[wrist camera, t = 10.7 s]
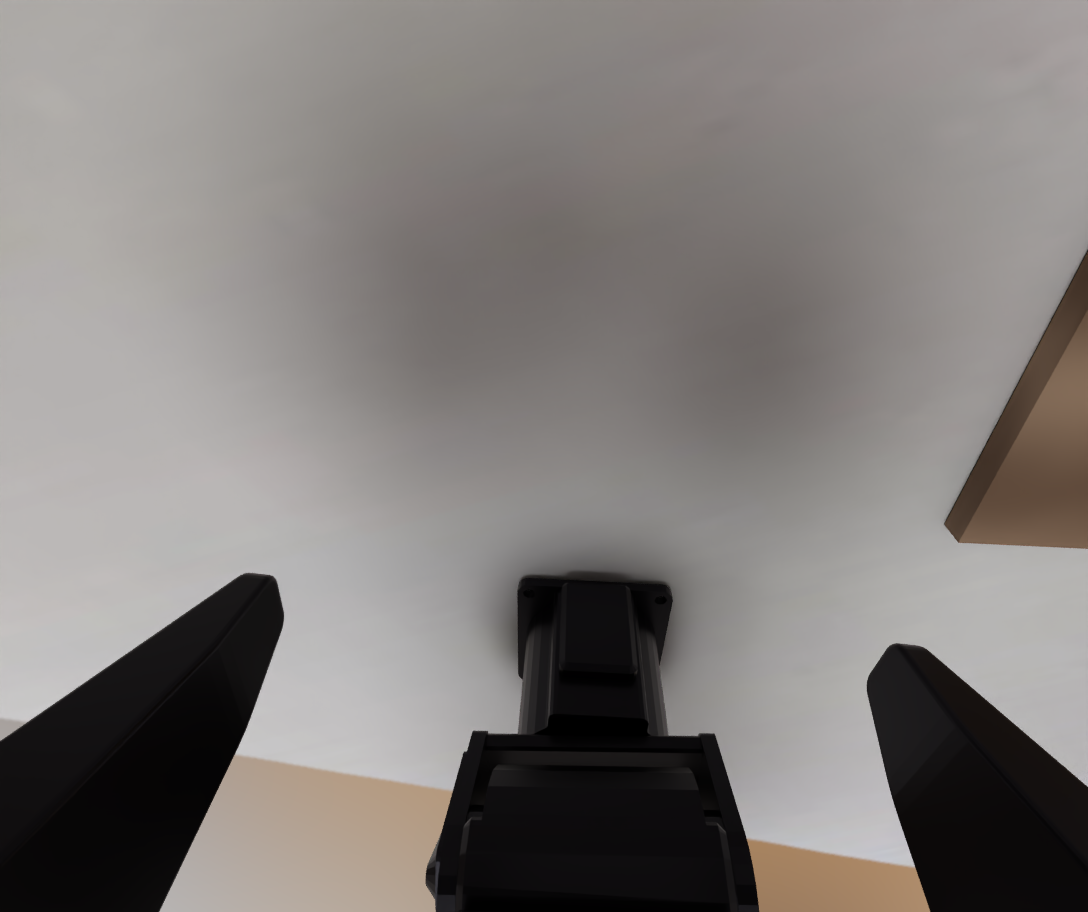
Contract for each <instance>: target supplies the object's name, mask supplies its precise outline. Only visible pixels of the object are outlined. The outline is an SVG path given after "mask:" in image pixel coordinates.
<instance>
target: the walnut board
mask: <svg viewBox="0 0 1088 912" xmlns="http://www.w3.org/2000/svg"><path fill="white" fill-rule="evenodd" d="M944 525H945V526H946V527H947V529H948V530H949V531H950V532H951V534H952V535H953V536H954V538H955V539H956V540H957V541H958V543H978V544H999V545H1021V546H1042V547H1063V548H1085V549H1088V252H1087V254H1086V256H1085V258H1084V260H1083V262H1082V264H1081V265H1080V267H1079V269H1078V271H1077V273H1076V275H1075V277H1074V279H1073V281H1072V283H1071V284H1070V286H1069V288H1068V290H1067V292H1066V294H1065V296H1064V298H1063V300H1062V302H1061V304H1060V305H1059V307H1058V309H1057V311H1056V313H1055V315H1054V317H1053V319H1052V321H1051V323H1050V324H1049V326H1048V328H1047V330H1046V332H1045V334H1044V336H1043V338H1042V340H1041V342H1040V344H1039V345H1038V347H1037V349H1036V351H1035V353H1034V355H1033V357H1032V359H1031V361H1030V363H1029V364H1028V366H1027V368H1026V370H1025V372H1024V374H1023V376H1022V378H1021V380H1020V382H1019V384H1018V385H1017V387H1016V389H1015V391H1014V393H1013V395H1012V397H1011V399H1010V401H1009V403H1008V404H1007V406H1006V408H1005V410H1004V412H1003V414H1002V416H1001V418H1000V420H999V422H998V424H997V425H996V427H995V429H994V431H993V433H992V435H991V437H990V439H989V441H988V443H987V444H986V446H985V448H984V450H983V452H982V454H981V456H980V458H979V460H978V462H977V464H976V465H975V467H974V469H973V471H972V473H971V475H970V477H969V479H968V481H967V483H966V484H965V486H964V488H963V490H962V492H961V494H960V496H959V498H958V500H957V502H956V503H955V505H954V507H953V509H952V511H951V513H950V515H949V517H948V519H947V521H946V523H945V524H944Z"/></svg>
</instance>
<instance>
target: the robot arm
mask: <svg viewBox="0 0 1088 912" xmlns="http://www.w3.org/2000/svg"><path fill="white" fill-rule="evenodd" d="M527 589H531V590H532V591H529V590H527ZM517 594H518V674H519V677H520V678H521V679H523V684H522V695H521V705H520V716H519V727H518V734H488V731H473V732H472V736H471V739H470V743H469V747H468V750H467V752H464V753H463V757H462V760H461V764H460V768H459V771H458V775H457V779H456V782H455V786H454V789H453V793H452V797H451V800H450V804H449V807H448V811H447V815H446V818H445V822H444V825H443V829H442V833H441V835H440V838H439V840H438V842H437V844H436V847H435V849H434V851H433V854H432V856H431V858H430V860H429V863H428V866H427V870H426V886H427V888H428V889H429V890H430V892H431V894H432V895H433V897H434V899H435V905H436V912H759V905H758V898H757V889H756V882H755V877H754V871H753V865H752V860H751V856H750V851H749V846H748V843H747V839H746V835H745V831H744V828H743V825H742V822H741V818H740V815H739V812H738V809H737V805H736V802H735V799H734V795H733V792H732V789H731V786H730V782H729V779H728V776H727V772H726V769H725V766H724V763H723V759H722V756H721V753H720V749H719V746H718V743H717V740H716V736H715V734H709V733H699V735H698V736H668V728H667V721H666V713H665V706H664V698H663V690H662V683H661V675H660V668H659V666H660V661H661V656H662V651H663V646H664V641H665V636H666V631H667V626H668V621H669V616H670V611H671V607H672V602H673V599H672V592H671V590H670V588H669V587H667V586H665V585H657V584H637V583H617V582H597V581H577V580H557V579H537V578H526V579H523V580H521V581H520V582H519V585H518V593H517ZM658 596H663V597H658ZM283 622H284V611H283V607H282V602H281V598H280V593H279V589H278V584H277V581H276V579H275V578H274V577H273V576H271V575H265V574H256V573H245V574H243V575H240V576H239V577H237V578H236V579H234V580H233V581H231V582H230V583H228V584H227V585H226V586H224V587H223V588H221V589H220V590H218V591H217V592H215V593H214V594H213V595H211V596H210V597H208V598H207V599H205V600H204V601H202V602H201V603H199V604H198V605H197V606H195V607H194V608H192V609H191V610H189V611H188V612H186V613H185V614H184V615H182V616H181V617H179V618H178V619H176V620H175V621H173V622H172V623H171V624H169V625H168V626H166V627H165V628H163V629H162V630H160V631H159V632H157V633H156V634H155V635H153V636H152V637H150V638H149V639H147V640H146V641H144V642H143V643H142V644H140V645H139V646H137V647H136V648H134V649H133V650H131V651H130V652H128V653H127V654H126V655H124V656H123V657H121V658H120V659H118V660H117V661H115V662H114V663H113V664H111V665H110V666H108V667H107V668H105V669H104V670H102V671H101V672H100V673H98V674H97V675H95V676H94V677H92V678H91V679H89V680H88V681H86V682H85V683H84V684H82V685H81V686H79V687H78V688H76V689H75V690H73V691H72V692H71V693H69V694H68V695H66V696H65V697H63V698H62V699H60V700H59V701H58V702H56V703H55V704H53V705H52V706H50V707H49V708H47V709H46V710H44V711H43V712H42V713H40V714H39V715H37V716H36V717H34V718H33V719H31V720H30V721H29V722H27V723H26V724H24V725H23V726H22V727H20V728H19V729H17V730H16V731H14V732H13V733H11V734H10V735H8V736H7V737H5V738H4V739H2V740H1V741H0V912H159V911H160V909H161V907H162V905H163V903H164V901H165V899H166V896H167V894H168V892H169V890H170V888H171V886H172V884H173V882H174V880H175V878H176V876H177V874H178V871H179V869H180V867H181V865H182V863H183V861H184V859H185V857H186V855H187V853H188V850H189V848H190V846H191V844H192V842H193V840H194V838H195V836H196V834H197V832H198V830H199V827H200V825H201V823H202V821H203V819H204V817H205V815H206V813H207V811H208V809H209V807H210V805H211V802H212V801H213V798H214V796H215V794H216V792H217V790H218V788H219V786H220V784H221V782H222V779H223V778H224V775H225V773H226V771H227V769H228V767H229V765H230V763H231V761H232V759H233V757H234V755H235V753H236V750H237V748H238V746H239V744H240V742H241V740H242V737H243V735H244V733H245V731H246V728H247V725H248V723H249V720H250V718H251V715H252V712H253V710H254V707H255V704H256V701H257V698H258V695H259V693H260V690H261V687H262V684H263V681H264V679H265V676H266V673H267V670H268V667H269V664H270V662H271V659H272V656H273V653H274V650H275V648H276V645H277V642H278V639H279V636H280V633H281V631H282V627H283ZM867 694H868V698H869V703H870V707H871V711H872V715H873V720H874V724H875V728H876V733H877V737H878V741H879V745H880V750H881V754H882V758H883V763H884V767H885V771H886V775H887V780H888V784H889V787H890V791H891V795H892V799H893V802H894V805H895V808H896V811H897V814H898V818H899V820H900V823H901V826H902V829H903V832H904V835H905V838H906V841H907V844H908V847H909V850H910V853H911V856H912V859H913V862H914V865H915V868H916V870H917V873H918V876H919V879H920V882H921V885H922V888H923V891H924V894H925V897H926V900H927V903H928V905H929V909H930V912H1088V787H1087V786H1086V785H1085V784H1084V783H1083V782H1081V781H1080V780H1079V779H1078V778H1077V777H1076V776H1074V775H1073V774H1072V773H1071V772H1070V771H1069V770H1067V769H1066V768H1065V767H1064V766H1063V765H1061V764H1060V763H1059V762H1058V761H1057V760H1056V759H1054V758H1053V757H1052V756H1051V755H1050V754H1049V753H1047V752H1046V751H1045V750H1044V749H1043V748H1042V747H1040V746H1039V745H1038V744H1037V743H1036V742H1035V741H1033V740H1032V739H1031V738H1030V737H1029V736H1028V735H1026V734H1025V733H1024V732H1023V731H1022V730H1021V729H1019V728H1018V727H1017V726H1016V725H1015V724H1014V723H1012V722H1011V721H1010V720H1009V719H1008V718H1007V717H1005V716H1004V715H1003V714H1002V713H1001V712H1000V711H998V710H997V709H996V708H995V707H994V706H993V705H991V704H990V703H989V702H988V701H987V700H985V699H984V698H983V697H982V696H981V695H980V694H978V693H977V692H976V691H975V690H974V689H973V688H971V687H970V686H969V685H968V684H967V683H966V682H964V681H963V680H962V679H961V678H960V677H959V676H957V675H956V674H955V673H954V672H953V671H952V670H950V669H949V668H948V667H947V666H946V665H945V664H943V663H942V662H941V661H940V660H939V659H938V658H936V657H935V656H934V655H933V654H932V653H931V652H929V651H928V650H927V649H925V648H923V647H921V646H916V645H908V644H899V643H896V644H892V645H890V646H889V647H888V648H887V649H886V651H885V652H884V654H883V655H882V657H881V658H880V660H879V661H878V663H877V664H876V666H875V667H874V669H873V670H872V672H871V673H870V675H869V677H868V680H867Z"/></svg>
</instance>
